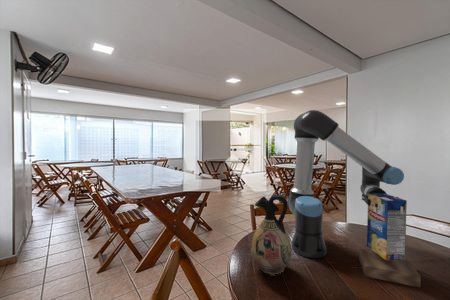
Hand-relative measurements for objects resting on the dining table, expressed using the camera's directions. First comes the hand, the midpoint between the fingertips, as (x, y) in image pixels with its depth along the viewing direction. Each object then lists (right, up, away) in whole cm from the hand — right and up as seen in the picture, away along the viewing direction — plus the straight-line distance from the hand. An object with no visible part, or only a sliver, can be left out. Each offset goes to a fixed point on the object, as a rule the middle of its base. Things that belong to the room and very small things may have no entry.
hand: (392, 209), depth 78 cm
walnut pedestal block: (+1, -25, +4) cm, 25 cm away
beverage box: (+1, -19, +6) cm, 19 cm away
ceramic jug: (-42, -25, +6) cm, 50 cm away
